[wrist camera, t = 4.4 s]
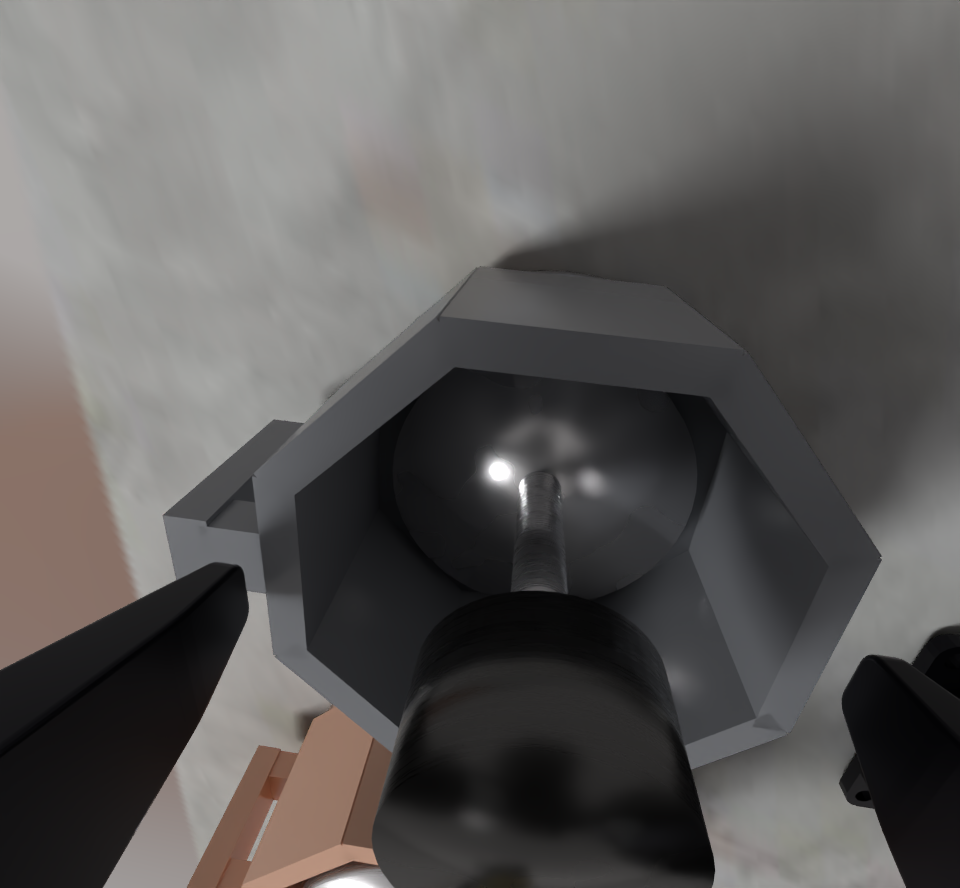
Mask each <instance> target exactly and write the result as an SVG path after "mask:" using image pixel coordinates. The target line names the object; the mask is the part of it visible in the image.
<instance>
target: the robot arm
mask: <svg viewBox="0 0 960 888" xmlns="http://www.w3.org/2000/svg"><path fill="white" fill-rule="evenodd" d="M248 612H249V603H248V596H247V589H246V582H245V575H244V571H243V569H242V567H241V566H239V565H237V564H230V563H223V562H212V563H209V564H207V565H205V566H203V567H201V568H199V569H197V570H195V571H193V572H191V573H189V574H187V575H186V576H184V577H182V578H180V579H178V580H176V581H174V582H172V583H170V584H168V585H166V586H164V587H162V588H160V589H158V590H156V591H154V592H152V593H150V594H148V595H146V596H144V597H142V598H140V599H139V600H137V601H135V602H133V603H131V604H129V605H127V606H125V607H123V608H121V609H119V610H117V611H115V612H113V613H111V614H109V615H107V616H105V617H103V618H102V619H99V620H97V621H95V622H93V623H92V624H90V625H88V626H86V627H84V628H82V629H80V630H78V631H76V632H74V633H72V634H70V635H68V636H66V637H65V638H62V639H60V640H58V641H56V642H55V643H52V644H50V645H48V646H46V647H45V648H43V649H41V650H39V651H37V652H35V653H33V654H31V655H29V656H27V657H25V658H23V659H21V660H19V661H17V662H15V663H13V664H11V665H9V666H7V667H5V668H3V669H1V670H0V888H103V886H104V885H105V883H106V881H107V879H108V878H109V876H110V874H111V873H112V871H113V869H114V868H115V866H116V864H117V863H118V861H119V859H120V857H121V856H122V854H123V852H124V851H125V849H126V847H127V845H128V844H129V842H130V840H131V839H132V836H133V835H134V833H135V832H136V830H137V828H138V827H139V825H140V823H141V822H142V820H143V818H144V817H145V815H146V813H147V811H148V810H149V808H150V806H151V804H152V803H153V801H154V799H155V798H156V796H157V794H158V793H159V791H160V789H161V788H162V786H163V784H164V782H165V781H166V779H167V777H168V775H169V774H170V772H171V770H172V769H173V767H174V765H175V764H176V762H177V760H178V759H179V757H180V755H181V753H182V752H183V750H184V748H185V747H186V745H187V743H188V741H189V740H190V738H191V736H192V734H193V733H194V731H195V729H196V727H197V725H198V724H199V722H200V720H201V718H202V716H203V714H204V712H205V710H206V708H207V706H208V704H209V702H210V699H211V697H212V695H213V693H214V691H215V689H216V686H217V684H218V682H219V680H220V678H221V676H222V673H223V671H224V669H225V667H226V665H227V662H228V660H229V658H230V656H231V654H232V652H233V649H234V647H235V645H236V643H237V641H238V639H239V636H240V634H241V632H242V630H243V628H244V626H245V623H246V621H247V617H248ZM842 709H843V714H844V717H845V720H846V723H847V726H848V729H849V732H850V735H851V738H852V741H853V744H854V747H855V750H856V753H857V754H856V755H855V757H854V759H853V760H852V762H851V763H850V765H849V766H848V768H847V770H846V771H845V773H844V774H843V776H842V778H841V779H840V782H839V785H840V787H841V789H842V791H843V793H844V795H845V797H846V799H847V801H848V802H849V803H851V804H852V805H856V806H860V807H867V808H873V809H875V812H876V814H877V817H878V820H879V823H880V826H881V828H882V831H883V834H884V836H885V838H886V841H887V843H888V846H889V848H890V851H891V853H892V856H893V858H894V860H895V863H896V865H897V867H898V870H899V872H900V874H901V877H902V879H903V881H904V884H905V886H906V888H960V635H956V634H945V635H941V636H937V637H935V638H934V639H932V640H930V641H929V642H928V643H927V644H926V645H925V646H924V648H923V649H922V651H921V652H920V654H919V656H918V657H917V659H916V660H915V662H914V663H913V665H910V664H909V663H907V662H906V661H904V660H902V659H899V658H895V657H888V656H881V655H868V656H866V657H865V658H863V659H862V661H861V662H860V664H859V666H858V667H857V669H856V671H855V673H854V674H853V676H852V678H851V680H850V682H849V683H848V685H847V687H846V689H845V690H844V693H843V696H842Z"/></svg>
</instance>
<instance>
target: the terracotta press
mask: <svg viewBox="0 0 960 888" xmlns="http://www.w3.org/2000/svg"><path fill="white" fill-rule="evenodd" d="M391 756H392V752H390V751H389V750H388V749H387V748H385V747H384V746H383V745H382V744H381V743H379V742H378V741H377V740H376V739H374V738H373V737H372V736H371V735H370V734H368V733H367V732H366V731H365V730H363V729H362V728H361V727H360V726H359V725H357V724H356V723H355V722H354V721H352V720H351V719H350V718H349V717H348V716H346V715H345V714H344V713H343V712H341V711H340V710H339V709H338V708H337V707H335V706H334V705H333V704H332V705H331V706H330V708H329V710H328V711H327V712H325V713H323V714H322V715H320V716H318V717H316V718H314V719H313V721H312V723H311V725H310V728H309V730H308V732H307V735H306V737H305V739H304V742H303V744H302V746H301V749H300V751H299V753H298V754H297V753H291V752H285V751H281V749H278V748H272V747H266V746H260V745H259V746H258V748H257V750H256V752H255V754H254V756H253V758H252V760H251V762H250V764H249V766H248V768H247V770H246V772H245V774H244V776H243V778H242V780H241V782H240V784H239V786H238V788H237V790H236V792H235V794H234V796H233V797H232V799H231V801H230V803H229V805H228V807H227V809H226V811H225V813H224V815H223V817H222V819H221V821H220V823H219V825H218V827H217V829H216V831H215V833H214V835H213V837H212V839H211V841H210V843H209V845H208V847H207V849H206V851H205V853H204V854H203V856H202V858H201V860H200V862H199V864H198V866H197V869H196V870H195V872H194V874H193V876H192V878H191V880H190V882H189V884H188V886H187V888H302V887H303V884H304V883H305V881H306V879H308V878H311V877H313V876H316V875H318V874H321V873H323V872H326V871H328V870H331V869H334V868H336V867H339V866H341V865H344V864H346V863H349V862H351V861H357V862H363V863H368V864H374V865H378V863H377V861H376V858H375V855H374V852H373V847H372V829H373V824H374V820H375V816H376V812H377V809H378V805H379V801H380V797H381V793H382V790H383V786H384V782H385V778H386V775H387V771H388V767H389V763H390V760H391ZM273 800H278V802H277V804H276V806H275V809H274V811H273V813H272V816H271V818H270V820H269V823H268V825H267V827H266V830H265V832H264V834H263V837H262V839H261V841H260V844H259V846H258V848H257V851H256V853H255V855H254V857H253V860H252V862H250V861H247V859H248V856H249V854H250V852H251V850H252V847H253V845H254V843H255V841H256V838H257V836H258V834H259V831H260V829H261V827H262V825H263V822H264V820H265V818H266V816H267V813H268V811H269V809H270V806H271V804H272V802H273Z"/></svg>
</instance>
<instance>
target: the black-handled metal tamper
mask: <svg viewBox="0 0 960 888" xmlns="http://www.w3.org/2000/svg"><path fill="white" fill-rule="evenodd" d="M302 888H394V887H393V886H392V885H391V883H390V882H389V881H388V880H387V878H386V877H385V876H384V874H383V873H382V871H381V869H380V867H379V865H374V864H368V863H363V862H357V861H351V862H349V863H346V864H344V865H341V866H339V867H336V868H334V869H331V870H328V871H326V872H323V873H321V874H318V875H316V876H313V877H311V878H308V879H306V881H305V883H304V884H303V887H302Z"/></svg>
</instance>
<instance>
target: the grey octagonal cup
mask: <svg viewBox="0 0 960 888" xmlns="http://www.w3.org/2000/svg"><path fill="white" fill-rule="evenodd" d="M454 367H458V368H467V369H475V370H484V371H492V372H501V373H509V374H518V375H526V376H535V377H543V378H552V379H560V380H569V381H578V382H586V383H595V384H603V385H612V386H620V387H629V388H637V389H646V390H654V391H663V392H666V393H667V394H668V395H669V397H670V399H671V400H672V402H673V403H674V405H675V407H676V408H677V410H678V412H679V413H680V415H681V416H682V418H683V420H684V422H685V424H686V426H687V429H688V431H689V434H690V436H691V438H692V442H693V446H694V450H695V454H696V463H697V487H696V495H695V499H694V504H693V508H692V511H691V513H690V516H689V519H688V521H687V524H686V526H685V528H684V529H683V531H682V533H681V535H680V536H679V538H678V540H677V541H676V543H675V544H674V545H673V547H672V548H671V549H670V550H669V552H668V553H667V554H666V555H665V556H664V557H663V558H662V559H661V560H660V561H659V562H658V563H657V564H656V565H655V566H654V567H653V568H652V569H650V570H649V571H648V572H647V573H645V574H644V575H643V576H641V577H640V578H638V579H637V580H635V581H633V582H632V583H630V584H628V585H627V586H625V587H623V588H621V589H619V590H616V591H614V592H612V593H610V594H607V595H604V596H601V597H598V598H595V599H592V600H591V601H594V602H596V603H599V604H601V605H603V606H606V607H608V608H610V609H612V610H613V611H615V612H617V613H619V614H621V615H622V616H624V617H625V618H627V619H628V620H629V621H631V622H632V623H633V624H635V625H636V626H637V627H638V628H639V629H640V630H641V631H642V632H643V633H644V634H645V635H646V636H647V637H648V638H649V639H650V641H651V642H652V643H653V645H654V646H655V647H656V649H657V651H658V653H659V655H660V656H661V658H662V661H663V664H664V667H665V670H666V673H667V677H668V681H669V685H670V689H671V693H672V697H673V700H674V704H675V708H676V712H677V716H678V720H679V724H680V728H681V732H682V736H683V739H684V743H685V747H686V751H687V755H688V759H689V763H690V767H691V770H692V769H695V768H697V767H700V766H703V765H706V764H708V763H711V762H714V761H717V760H719V759H722V758H725V757H728V756H730V755H733V754H736V753H739V752H741V751H744V750H747V749H750V748H753V747H755V746H758V745H761V744H764V743H766V742H769V741H772V740H775V739H777V738H780V737H783V736H786V735H788V734H787V732H788V733H790V732H791V731H792V729H793V727H794V725H795V723H796V721H797V719H798V717H799V715H800V714H801V712H802V710H803V708H804V706H805V704H806V702H807V700H808V698H809V697H810V695H811V693H812V691H813V689H814V687H815V685H816V683H817V681H818V680H819V678H820V676H821V674H822V672H823V670H824V668H825V666H826V664H827V663H828V661H829V659H830V657H831V655H832V653H833V651H834V649H835V647H836V646H837V644H838V642H839V640H840V638H841V636H842V634H843V632H844V630H845V629H846V627H847V625H848V623H849V621H850V619H851V617H852V615H853V613H854V612H855V610H856V608H857V606H858V604H859V602H860V600H861V598H862V596H863V595H864V593H865V591H866V589H867V587H868V585H869V583H870V581H871V579H872V578H873V576H874V574H875V572H876V570H877V568H878V566H879V564H880V562H881V561H882V559H881V558H880V557H882V556H881V554H880V553H879V551H878V550H877V548H876V547H875V545H874V544H873V542H872V541H871V539H870V538H869V536H868V534H867V533H866V531H865V530H864V528H863V527H862V525H861V524H860V522H859V521H858V519H857V518H856V516H855V515H854V513H853V512H852V510H851V508H850V507H849V505H848V504H847V502H846V501H845V499H844V498H843V496H842V495H841V493H840V492H839V490H838V489H837V487H836V486H835V484H834V482H833V481H832V479H831V478H830V476H829V475H828V473H827V472H826V470H825V469H824V467H823V466H822V464H821V463H820V461H819V460H818V458H817V457H816V455H815V453H814V452H813V450H812V449H811V447H810V446H809V444H808V443H807V441H806V440H805V438H804V437H803V435H802V434H801V432H800V431H799V429H798V427H797V426H796V424H795V423H794V421H793V420H792V418H791V417H790V415H789V414H788V412H787V411H786V409H785V408H784V406H783V405H782V403H781V402H780V400H779V398H778V397H777V395H776V394H775V392H774V391H773V389H772V388H771V386H770V385H769V383H768V382H767V380H766V379H765V377H764V376H763V374H762V372H761V371H760V369H759V368H758V366H757V365H756V363H755V362H754V360H753V359H752V357H751V356H750V354H749V353H748V352H747V351H746V350H745V349H743V348H742V347H741V346H740V345H738V344H737V343H736V342H735V341H733V340H732V339H731V338H730V337H728V336H727V335H726V334H725V333H723V332H722V331H721V330H720V329H718V328H717V327H716V326H715V325H713V324H712V323H711V322H710V321H708V320H707V319H706V318H705V317H703V316H702V315H701V314H700V313H698V312H697V311H696V310H695V309H693V308H692V307H691V306H690V305H688V304H687V303H686V302H685V301H683V300H682V299H681V298H679V297H678V296H677V295H676V294H674V293H673V292H672V291H671V290H669V289H668V288H666V287H665V286H661V285H651V284H642V283H632V282H623V281H613V280H607V279H604V278H601V277H598V276H592V275H586V274H581V273H575V272H568V271H531V272H529V271H519V270H510V269H500V268H491V267H481V266H480V267H479V268H475V269H474V270H473V271H472V272H471V273H470V274H469V275H467V276H466V277H465V278H464V279H463V280H462V281H460V282H459V283H458V284H457V285H456V286H455V287H454V288H452V289H451V290H450V291H449V292H448V293H447V294H446V295H444V296H443V297H442V298H441V299H440V300H439V301H438V302H436V303H435V304H434V305H433V306H432V307H431V308H429V309H428V310H427V311H426V312H425V313H423V314H422V315H421V316H419V317H418V318H417V319H416V320H415V321H414V322H413V323H412V324H411V325H410V326H409V327H408V328H406V329H405V330H404V331H403V332H402V333H401V334H400V335H398V336H397V337H396V338H395V339H394V340H393V341H392V342H390V343H389V344H388V345H387V346H386V347H385V348H384V349H382V350H381V351H380V352H379V353H378V354H377V355H375V356H374V357H373V358H372V359H371V360H370V361H369V362H367V363H366V364H365V365H364V366H363V367H362V368H361V369H359V370H358V371H357V372H356V373H355V374H354V375H353V376H352V377H351V378H350V379H349V380H348V381H347V382H346V383H345V384H343V385H342V386H341V387H340V388H339V389H338V390H337V391H336V392H335V393H334V394H333V395H332V396H331V397H330V398H329V399H328V400H327V401H326V402H325V403H324V404H323V405H322V406H321V407H320V408H319V409H318V410H317V411H316V412H315V413H314V414H313V415H312V416H311V417H310V418H309V419H308V420H307V421H306V422H305V423H297V422H289V421H281V420H273V421H272V422H270V423H269V424H268V425H267V426H266V427H265V428H263V429H262V430H261V431H260V432H259V433H258V434H257V435H255V436H254V437H253V438H252V439H251V440H250V441H248V442H247V443H246V444H245V445H244V446H243V447H241V448H240V449H239V450H238V451H237V452H236V453H234V454H233V455H232V456H231V457H230V458H229V459H227V460H226V461H225V462H224V463H223V464H222V465H221V466H219V467H218V468H217V469H216V470H215V471H214V472H212V473H211V474H210V475H209V476H208V477H207V478H205V479H204V480H203V481H202V482H201V483H200V484H198V485H197V486H196V487H195V488H194V489H193V490H192V491H190V492H189V493H188V494H187V495H186V496H185V497H183V498H182V499H181V500H180V501H179V502H178V503H176V504H175V505H174V506H173V507H172V508H171V509H169V510H168V511H167V512H166V513H165V514H164V515H163V520H164V524H165V529H166V534H167V538H168V543H169V548H170V552H171V557H172V562H173V566H174V571H175V576H176V580H178V579H180V578H182V577H184V576H186V575H187V574H189V573H191V572H193V571H195V570H197V569H199V568H201V567H203V566H205V565H207V564H209V563H212V562H223V563H230V564H237V565H239V566H241V567H242V569H243V571H244V575H245V582H246V589H247V591H251V592H258V593H265V594H266V597H267V606H268V614H269V622H270V631H271V639H272V648H273V655H276V656H275V657H276V658H277V659H278V660H279V661H280V662H282V663H283V664H284V665H285V666H287V667H288V668H289V669H290V670H291V671H293V672H294V673H295V674H296V675H298V676H299V677H300V678H301V679H302V680H304V681H305V682H306V683H307V684H309V685H310V686H311V687H312V688H313V689H315V690H316V691H317V692H318V693H320V694H321V695H322V696H323V697H324V698H326V699H327V700H328V701H329V702H330V703H332V704H333V705H334V706H335V707H337V708H338V709H339V710H340V711H341V712H343V713H344V714H345V715H346V716H348V717H349V718H350V719H351V720H352V721H354V722H355V723H356V724H357V725H359V726H360V727H361V728H362V729H363V730H365V731H366V732H367V733H368V734H370V735H371V736H372V737H373V738H374V739H376V740H377V741H378V742H379V743H381V744H382V745H383V746H384V747H385V748H387V749H388V750H389V751H390V752H393V748H394V745H395V741H396V737H397V733H398V730H399V726H400V722H401V718H402V714H403V711H404V707H405V703H406V699H407V696H408V692H409V688H410V684H411V681H412V677H413V673H414V669H415V666H416V662H417V658H418V655H419V652H420V649H421V647H422V645H423V643H424V641H425V639H426V637H427V636H428V635H429V633H430V632H431V631H432V630H433V628H434V627H435V626H436V625H437V624H438V623H439V622H440V621H442V620H443V619H444V618H445V617H446V616H448V615H449V614H451V613H452V612H454V611H455V610H457V609H458V608H460V607H462V606H464V605H466V604H468V603H470V602H473V601H476V600H478V599H481V598H484V597H487V596H488V595H486V594H483V593H481V592H479V591H476V590H474V589H471V588H470V587H468V586H466V585H464V584H462V583H461V582H459V581H457V580H455V579H454V578H453V577H451V576H450V575H448V574H447V573H445V572H444V571H443V570H442V569H440V568H439V567H438V566H437V565H436V564H435V563H434V562H433V561H431V560H430V559H429V557H428V556H427V555H426V554H425V553H424V552H423V551H422V550H421V549H420V547H419V546H418V545H417V543H416V542H415V540H414V539H413V537H412V536H411V534H410V533H409V531H408V529H407V527H406V525H405V523H404V521H403V519H402V517H401V514H400V511H399V508H398V505H397V502H396V497H395V492H394V486H393V460H394V452H395V448H396V444H397V440H398V436H399V434H400V431H401V429H402V426H403V424H404V422H405V419H406V418H407V416H408V414H409V413H410V411H411V409H412V408H413V406H414V404H415V403H416V401H417V399H418V398H419V396H420V395H421V394H422V393H423V392H424V391H426V390H427V389H428V388H429V387H431V386H432V385H433V384H434V383H436V382H437V381H438V380H439V379H441V378H442V377H443V376H444V375H446V374H447V373H448V372H449V371H451V370H452V369H453V368H454Z"/></svg>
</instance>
